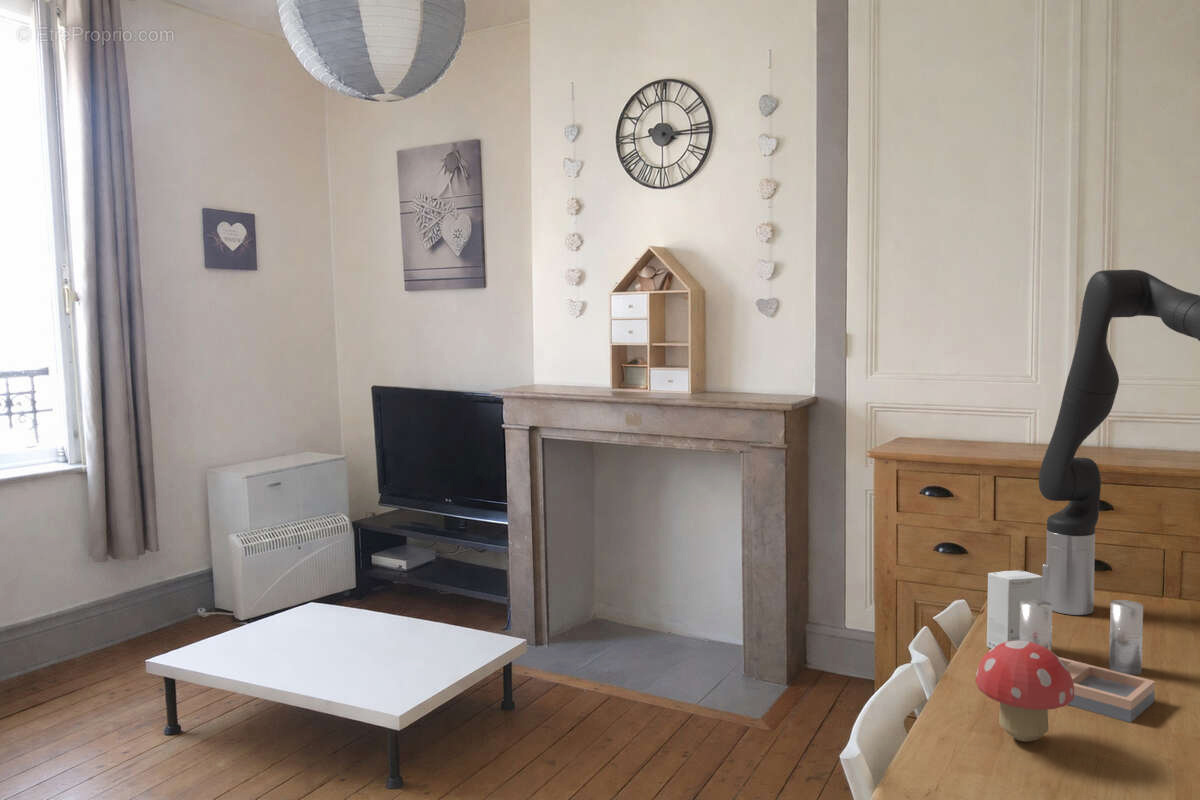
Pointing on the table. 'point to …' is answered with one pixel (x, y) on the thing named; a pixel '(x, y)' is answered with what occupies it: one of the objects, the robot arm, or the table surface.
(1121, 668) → the cylinder
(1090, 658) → the table surface
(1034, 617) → the seated billet
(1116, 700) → the pink rectangular tray
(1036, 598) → the skincare box
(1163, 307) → the robot arm
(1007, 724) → the decorative mushroom
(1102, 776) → the table surface
